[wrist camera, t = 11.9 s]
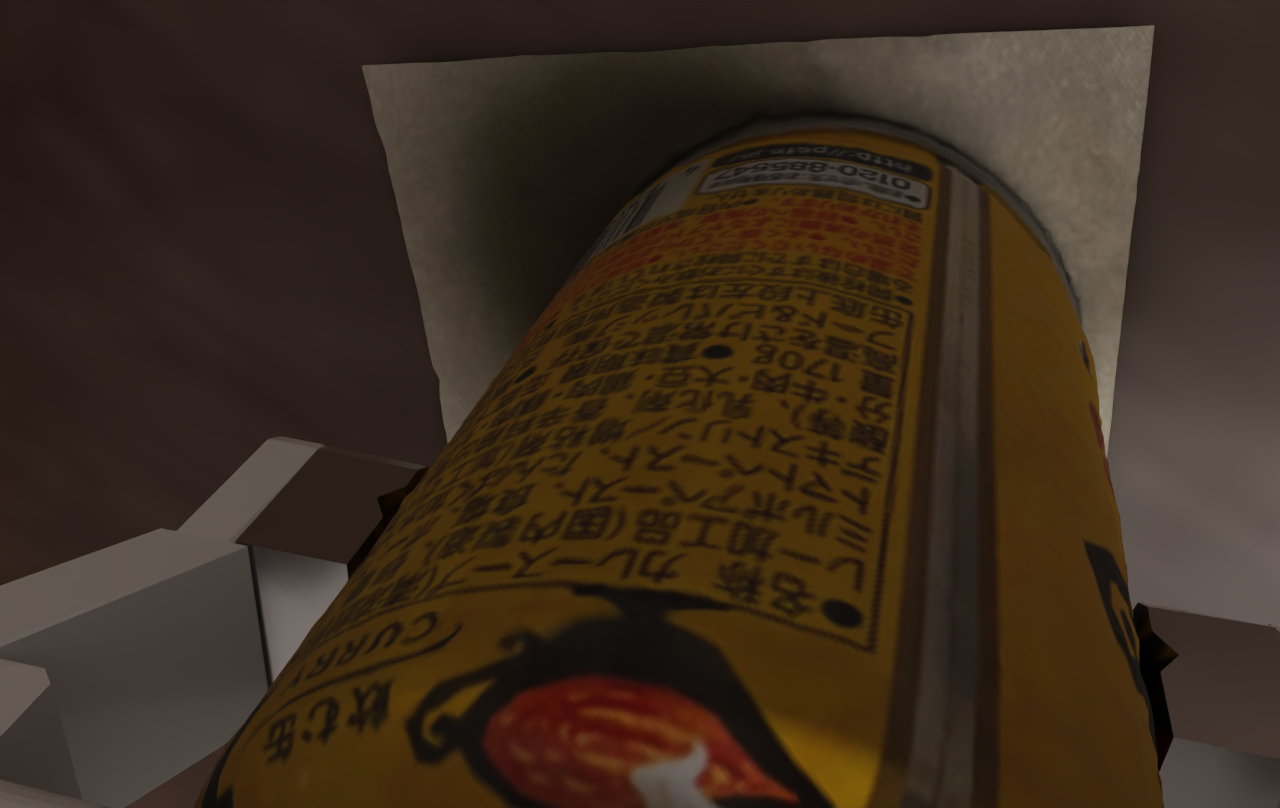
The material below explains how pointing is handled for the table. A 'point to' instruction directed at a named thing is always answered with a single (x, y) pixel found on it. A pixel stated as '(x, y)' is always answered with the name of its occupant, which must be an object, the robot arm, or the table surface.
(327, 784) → the condiment
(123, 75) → the table surface
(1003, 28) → the table surface
